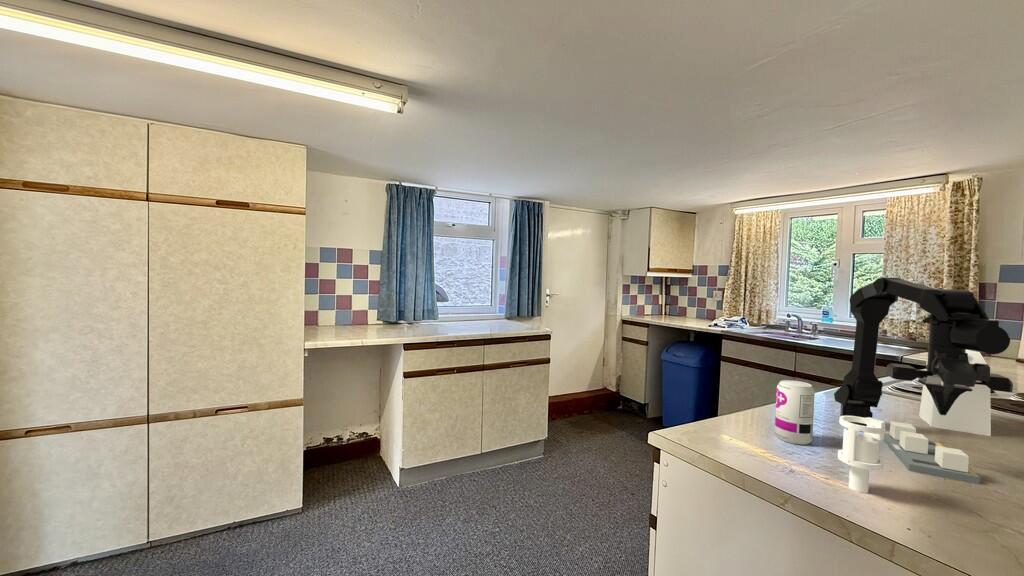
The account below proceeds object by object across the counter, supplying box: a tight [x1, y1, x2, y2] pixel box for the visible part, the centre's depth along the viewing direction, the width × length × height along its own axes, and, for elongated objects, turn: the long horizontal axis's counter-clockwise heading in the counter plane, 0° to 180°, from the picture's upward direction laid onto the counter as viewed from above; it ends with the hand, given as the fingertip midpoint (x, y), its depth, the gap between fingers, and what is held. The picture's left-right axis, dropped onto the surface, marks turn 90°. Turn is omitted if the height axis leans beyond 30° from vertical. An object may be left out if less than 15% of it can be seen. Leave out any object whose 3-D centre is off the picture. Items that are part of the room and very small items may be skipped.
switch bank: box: [882, 432, 981, 485], centre depth 98 cm, size 11×22×2 cm, turn 150°
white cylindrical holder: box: [837, 416, 886, 494], centre depth 82 cm, size 7×7×15 cm
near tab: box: [935, 446, 970, 472], centre depth 90 cm, size 4×4×4 cm
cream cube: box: [889, 420, 917, 440], centre depth 106 cm, size 4×4×4 cm
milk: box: [918, 350, 992, 437], centre depth 122 cm, size 12×12×26 cm
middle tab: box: [899, 431, 929, 454], centre depth 99 cm, size 4×4×4 cm
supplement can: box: [774, 379, 816, 446], centre depth 108 cm, size 8×8×15 cm
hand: (942, 414), depth 91 cm, fingers closed
